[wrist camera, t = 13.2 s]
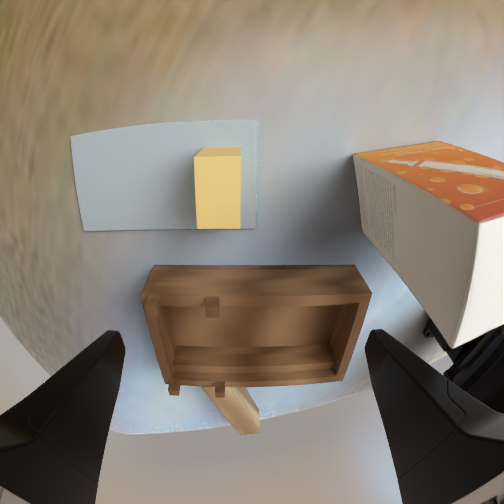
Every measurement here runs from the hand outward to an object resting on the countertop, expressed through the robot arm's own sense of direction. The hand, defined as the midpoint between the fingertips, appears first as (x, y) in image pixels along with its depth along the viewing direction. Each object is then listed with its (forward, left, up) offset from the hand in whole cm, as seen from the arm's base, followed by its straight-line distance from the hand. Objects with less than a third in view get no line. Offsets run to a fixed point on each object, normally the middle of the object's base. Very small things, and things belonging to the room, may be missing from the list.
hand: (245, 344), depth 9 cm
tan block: (+1, +20, -13) cm, 24 cm away
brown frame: (-1, +9, -12) cm, 15 cm away
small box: (-12, -3, -13) cm, 18 cm away
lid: (+6, -3, -13) cm, 14 cm away
